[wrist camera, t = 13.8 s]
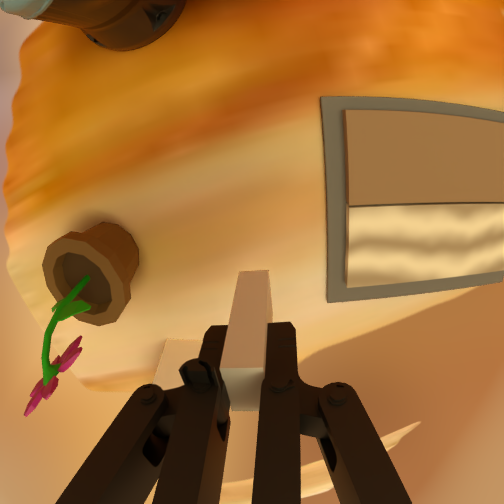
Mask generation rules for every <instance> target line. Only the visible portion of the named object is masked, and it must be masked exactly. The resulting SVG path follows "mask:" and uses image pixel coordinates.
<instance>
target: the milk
mask: <svg viewBox="0 0 504 504" xmlns="http://www.w3.org/2000/svg"><path fill="white" fill-rule="evenodd" d="M202 343H203V340H184V339H169V338H167V340H166V343H165V346H164V349H163V352H162V355H161V358H160V361H159V364H158V367H157V370H156V374H155V377H154V380H153V383H152V384H156V385H158V386H160V387H161V388H162V389H163V390H168V389H173V388H177V387H180V386H182V385H184V383H183V380H182V378H181V375H180V373H179V369H180V367H181V365H182V364H184V363H185V362H186V361H188V360H191V359H194V358H198V356H199V353H200V350H201V345H202Z"/></svg>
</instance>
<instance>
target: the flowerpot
mask: <svg viewBox="0 0 504 504" xmlns="http://www.w3.org/2000/svg"><path fill="white" fill-rule="evenodd" d="M138 265H139V249H138V247H137V245H136V243H135V242H134V240H133V238H132V236H131V234H129V233H128V232H127V231H125V230H124V229H123V228H121V227H120V226H119V225H117V224H111V223H104V222H102V223H101V224H99V225H97V226H95V227H93V228H91V229H89V230H87V231H85V232H84V233H78V232H72V231H71V232H69V233H68V234H66V235H64V236H62V237H61V238H59V239H57V240H55V241H54V242H53V243H52V244H50V245H49V246H48V247H47V250H46V254H45V257H44V260H43V264H42V267H43V271H44V276H45V280H46V285H47V287H48V289H49V290H50V292H51V293H52V295H53V296H54V298H55V299H56V301H57V303H56V304H55V305H54V307H53V308H52V312H54V311H55V309H56V308H57V309H56V311H55V313H54V315H53V317H52V319H51V321H50V323H49V325H48V327H47V329H46V331H45V335H44V342H43V350H42V368H43V378H42V379H41V380H40V381H39V382H38V383H37V384H36V386H35V388H34V389H33V391H32V392H31V394H30V397H32V398H31V400H30V401H29V403H28V405H27V408H26V410H25V413H24V416H26V417H27V416H28V415H29V414H30V413H31V412H32V411H33V410H34V409H35V408H36V406H37V405H38V403H39V402H40V400H41V399H42V397H43V398H44V399H46V400H47V399H48V398H49V397H50V396H51V395H52V393H53V392H54V390H55V389H56V387H57V386H58V380H59V379H58V378H57V377H56V375H57V374H58V373H59V372H64V371H66V370H67V369H68V368H69V367H70V366H71V365H72V364H73V363H74V361H75V360H76V359H77V357H78V356H79V354H80V353H81V351H82V349H83V348H82V347H79V348H78V346H79V344H80V342H81V339H82V336H79V337H78V338H77V339H76V340H75V341H73V342H72V343H71V344H70V345H69V347H68V348H67V349H66V351H65V352H64V353H63V355H62V356H61V357H60V356H59V355H58V356H57V358H56V359H55V360H54V361H53V362H52V364H51V365H50V361H49V352H50V343H51V336H52V333H53V331H54V329H55V327H56V325H57V322H58V321H63V320H65V319H67V318H69V317H71V316H74V317H75V318H76V319H78V320H79V321H83V322H86V323H89V324H93V325H96V326H101V325H105V324H109V323H113V322H116V321H117V319H118V318H119V316H120V315H121V313H122V311H123V310H124V308H125V307H126V305H127V304H128V302H129V300H130V299H131V293H130V282H131V280H132V278H133V275H134V273H135V271H136V269H137V267H138Z"/></svg>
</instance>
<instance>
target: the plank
mask: <svg viewBox="0 0 504 504" xmlns="http://www.w3.org/2000/svg"><path fill="white" fill-rule="evenodd" d="M502 270H504V202H431V203H396V204H371V205H350V206H349V204H348V203H346V255H345V283H346V286H347V288H352V287H363V286H374V285H385V284H395V283H405V282H414V281H424V280H432V279H441V278H449V277H458V276H465V275H473V274H481V273H488V272H495V271H502Z"/></svg>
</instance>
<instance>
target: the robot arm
mask: <svg viewBox="0 0 504 504" xmlns="http://www.w3.org/2000/svg"><path fill="white" fill-rule="evenodd" d="M185 2H186V0H0V8H1V9H2V10H3V11H5V12H7V13H9V14H14V15H19V16H21V17H23V18H24V19H28V20H29V19H36V20H42V21H48V22H53V23H59V24H64V25H69V26H73V27H77V28H80V29H81V30H82V31H83V32H84V34H86V36H87V37H88V38H89V39H90V40H91V41H92V42H94V43H95V44H97V45H99V46H101V47H104V48H108V49H112V50H118V51H127V50H133V49H137V48H140V47H143V46H145V45H147V44H150V43H151V42H153V41H155V40H156V39H158V38H159V37H161V36H162V35H163V34H164V33H166V32H167V31H168V30H169V29H170V28H171V27H172V25H173V24H174V23H175V22H176V20H177V19H178V17H179V16H180V14H181V12H182V10H183V8H184V5H185ZM272 317H273V311H272V300H271V290H270V280H269V270H260V271H244V272H239V276H238V280H237V285H236V290H235V295H234V300H233V305H232V309H231V314H230V319H229V324H228V325H213V326H211V327H210V328H209V329H208V330H207V331H206V333H205V335H204V338H203V343H202V345H201V350H200V353H199V356H198V358H194V359H191V360H188V361H186V362H185V363H184V364H182V365H181V367H180V369H179V373H180V375H181V378H182V380H183V383H184V385H182V386H180V387H177V388H173V389H168V390H163V389H162V388H161V387H160V386H158V385H156V384H146V385H143V386H141V387H139V388H138V389H137V390H136V391H135V392H134V393H133V394H132V396H131V397H130V398H129V400H128V401H127V403H126V404H125V405H124V407H123V408H122V410H121V411H120V412H119V414H118V415H117V417H116V418H115V419H114V421H113V422H112V424H111V425H110V426H109V428H108V429H107V431H106V432H105V433H104V435H103V436H102V438H101V439H100V441H99V442H98V443H97V445H96V446H95V448H94V449H93V450H92V452H91V453H90V455H89V456H88V457H87V459H86V460H85V462H84V463H83V465H82V466H81V467H80V469H79V470H78V472H77V473H76V475H75V476H74V477H73V479H72V480H71V482H70V483H69V485H68V486H67V487H66V489H65V490H64V492H63V493H62V495H61V496H60V498H59V499H58V500H57V502H56V503H55V504H144V502H145V501H146V499H147V497H148V495H149V494H150V492H151V490H152V488H153V486H154V485H155V483H156V482H157V480H158V483H157V486H156V491H155V494H154V498H153V502H152V504H219V500H220V493H221V486H222V479H223V472H224V465H225V458H226V451H227V443H228V436H229V429H230V417H229V409H230V406H231V410H232V411H259V421H258V434H257V446H256V458H255V470H254V481H253V493H252V504H301V465H300V464H301V462H300V434H302V435H307V436H312V437H316V439H317V442H318V444H319V447H320V450H321V452H322V455H323V458H324V461H325V463H326V466H327V469H328V471H329V474H330V477H331V480H332V482H333V485H334V488H335V490H336V493H337V496H338V498H339V501H340V504H412V502H411V500H410V498H409V496H408V494H407V492H406V490H405V488H404V486H403V483H402V481H401V479H400V477H399V476H398V473H397V471H396V469H395V467H394V465H393V463H392V461H391V459H390V457H389V455H388V453H387V451H386V449H385V447H384V445H383V443H382V442H381V440H380V438H379V436H378V434H377V432H376V430H375V428H374V426H373V424H372V422H371V420H370V418H369V416H368V414H367V412H366V411H365V408H364V407H363V405H362V403H361V401H360V399H359V397H358V395H357V393H356V391H355V390H354V389H353V388H352V387H351V386H350V385H348V384H346V383H341V382H336V383H330V384H328V385H326V386H324V387H323V388H318V387H314V386H310V385H308V384H306V383H304V382H303V381H302V380H301V379H300V377H299V375H298V367H297V347H296V329H295V328H294V326H293V325H292V323H291V322H277V323H272ZM158 478H159V479H158Z"/></svg>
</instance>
